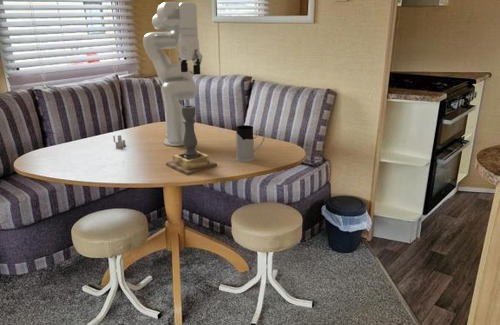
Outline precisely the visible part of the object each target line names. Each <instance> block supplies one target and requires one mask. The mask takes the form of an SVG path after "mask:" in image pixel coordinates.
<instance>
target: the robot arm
mask: <svg viewBox="0 0 500 325" xmlns="http://www.w3.org/2000/svg"><path fill="white" fill-rule="evenodd" d="M151 26H153V28H154V29H155V30H157V31H151V32H148V33H146V34H145V35H144V36H143V39H142V40H143V41H142V44H143V48H144V51H145V53H146V55H147V56H148V58H149V59H150V61H151V62H152V64H153V66H154V68H155V71H156V74H157V77H158V79H159V80H160V82H161V83H162V85H161V90H160V91H161V96H162V100H163V106H164V114H165V115H164V116H165V131H166V133H164V136H165V137H166V139H164V141H163V144H164V145H166V146H168V147H169V146H171V147H180V146H184V144H183V140H184V134H185V124H184V123H183V121H184V120H185V119H184V117H183V115H182V106H183V105H182V104H181V103H180V101H183V100H191V99H194V98H195V97H197V93H198V89H197V85H196V83H195V81H194V78H193V76H192V73H193V75H200V74H201V64H202V61H203V60H202V59H203V55H202V53H201V51H200V42H199V37H198V10H197V3H195V2H192V1H191V2H190V1H188V2H187V1H163V2H162V3H161V4H158V6H157V9H156V13H155V14H154V15H153V17H152V20H151ZM177 47H178V52H177V56H178V59H179V63H172V62H171V60H170V57H169V56H168V54H166V53H165V52H164V51H162V50H168V49H170V50H171V49H175V48H177ZM188 61H192V63H193V66H192V68H193V69H192V70H193V72H192V73H191V71H190V69H189V67H188Z"/></svg>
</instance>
